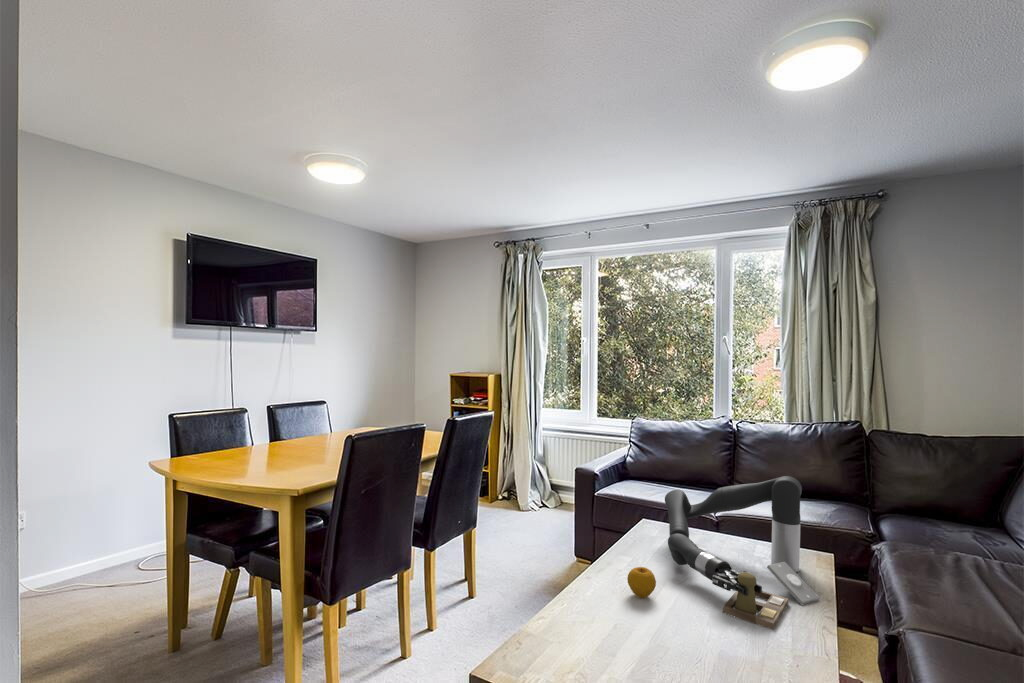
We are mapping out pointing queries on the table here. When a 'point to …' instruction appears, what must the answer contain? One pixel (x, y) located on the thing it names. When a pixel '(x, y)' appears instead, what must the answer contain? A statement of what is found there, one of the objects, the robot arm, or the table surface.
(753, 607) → the olive pawn figure
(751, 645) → the table surface
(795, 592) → the light switch
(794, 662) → the table surface
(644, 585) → the apple
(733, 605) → the wooden frame
